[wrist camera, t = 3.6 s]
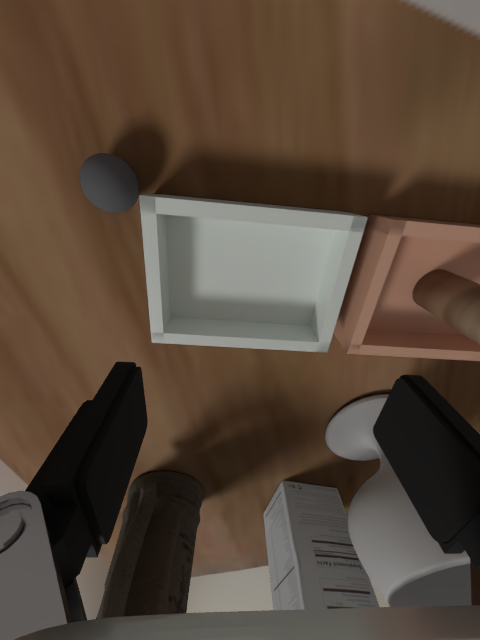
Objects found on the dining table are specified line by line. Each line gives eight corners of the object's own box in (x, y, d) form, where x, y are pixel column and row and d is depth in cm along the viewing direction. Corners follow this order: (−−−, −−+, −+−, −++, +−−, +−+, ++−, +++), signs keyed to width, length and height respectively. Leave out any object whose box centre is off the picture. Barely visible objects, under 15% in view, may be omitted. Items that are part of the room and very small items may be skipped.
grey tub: (347, 212, 21) (367, 217, 17) (315, 332, 26) (327, 352, 23) (153, 193, 20) (139, 195, 16) (161, 322, 25) (151, 342, 22)
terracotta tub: (542, 230, 22) (593, 238, 19) (473, 342, 27) (505, 362, 24) (369, 214, 21) (393, 219, 18) (333, 333, 26) (346, 353, 23)
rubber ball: (143, 158, 18) (124, 153, 15) (147, 212, 20) (131, 218, 17) (91, 153, 18) (61, 147, 15) (99, 208, 20) (74, 213, 17)
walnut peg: (461, 271, 23) (565, 311, 15) (442, 308, 24) (529, 359, 17) (422, 267, 22) (510, 307, 15) (406, 305, 24) (479, 356, 17)
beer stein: (212, 508, 40) (194, 757, 22) (147, 518, 41) (78, 767, 23) (184, 440, 34) (127, 707, 16) (108, 452, 35) (-29, 722, 17)
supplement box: (314, 518, 43) (357, 695, 28) (261, 512, 42) (278, 695, 27) (339, 486, 39) (406, 674, 24) (282, 478, 37) (315, 673, 23)
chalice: (361, 370, 28) (476, 534, 15) (453, 406, 31) (614, 568, 18) (296, 446, 34) (337, 613, 21) (379, 470, 37) (461, 629, 24)
